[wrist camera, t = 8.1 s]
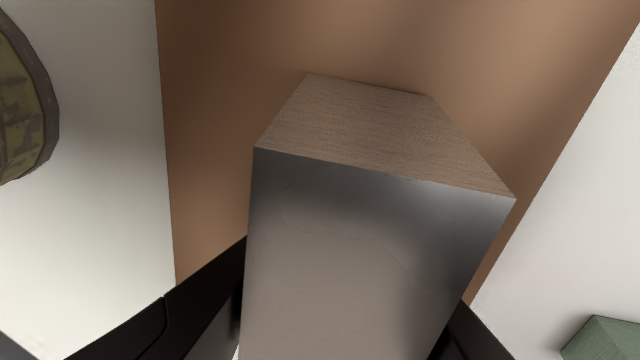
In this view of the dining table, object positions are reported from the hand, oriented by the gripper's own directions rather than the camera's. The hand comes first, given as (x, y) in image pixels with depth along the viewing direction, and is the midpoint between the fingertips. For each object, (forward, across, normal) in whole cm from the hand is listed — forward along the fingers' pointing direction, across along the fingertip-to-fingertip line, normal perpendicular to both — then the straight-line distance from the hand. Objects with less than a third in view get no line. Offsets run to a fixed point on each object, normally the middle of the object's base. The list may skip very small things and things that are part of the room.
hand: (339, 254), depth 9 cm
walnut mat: (+4, 0, 0) cm, 4 cm away
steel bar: (+3, 0, 0) cm, 3 cm away
